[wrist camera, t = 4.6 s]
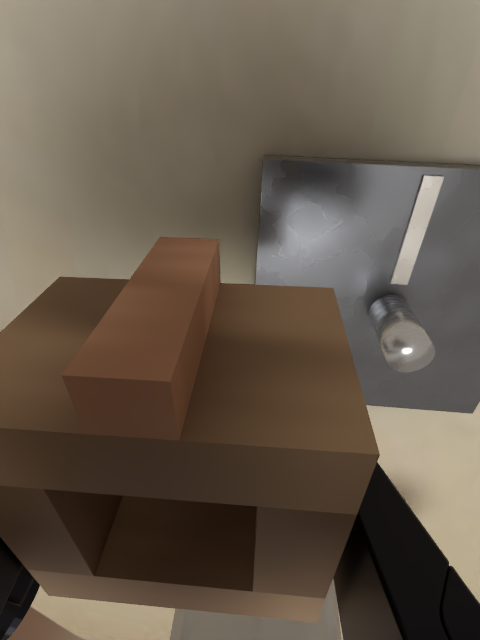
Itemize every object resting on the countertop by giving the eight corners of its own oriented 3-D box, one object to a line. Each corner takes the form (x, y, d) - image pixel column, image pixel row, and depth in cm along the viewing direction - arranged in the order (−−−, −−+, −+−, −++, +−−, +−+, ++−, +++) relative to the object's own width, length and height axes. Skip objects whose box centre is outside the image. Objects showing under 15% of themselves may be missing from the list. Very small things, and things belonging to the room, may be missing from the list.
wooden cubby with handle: (114, 444, 11) (48, 595, 8) (45, 233, 7) (-144, 363, 4) (303, 457, 11) (316, 622, 8) (340, 243, 7) (401, 395, 4)
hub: (249, 384, 23) (244, 442, 20) (263, 154, 15) (261, 178, 12) (465, 401, 23) (502, 464, 19) (596, 170, 15) (704, 201, 11)
